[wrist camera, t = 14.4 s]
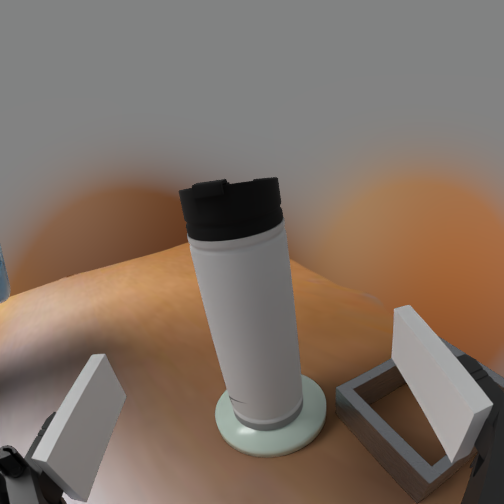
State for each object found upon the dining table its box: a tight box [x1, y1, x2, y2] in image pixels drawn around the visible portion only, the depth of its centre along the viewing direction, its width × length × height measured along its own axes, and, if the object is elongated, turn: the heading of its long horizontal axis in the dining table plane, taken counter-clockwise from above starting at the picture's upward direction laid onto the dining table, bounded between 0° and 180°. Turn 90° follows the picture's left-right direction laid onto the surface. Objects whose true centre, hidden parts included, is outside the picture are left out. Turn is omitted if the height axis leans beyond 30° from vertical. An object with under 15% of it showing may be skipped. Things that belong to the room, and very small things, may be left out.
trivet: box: [215, 374, 326, 458], centre depth 26 cm, size 10×10×1 cm
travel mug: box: [179, 177, 303, 431], centre depth 23 cm, size 6×7×20 cm
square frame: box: [336, 336, 504, 503], centre depth 21 cm, size 12×12×4 cm
